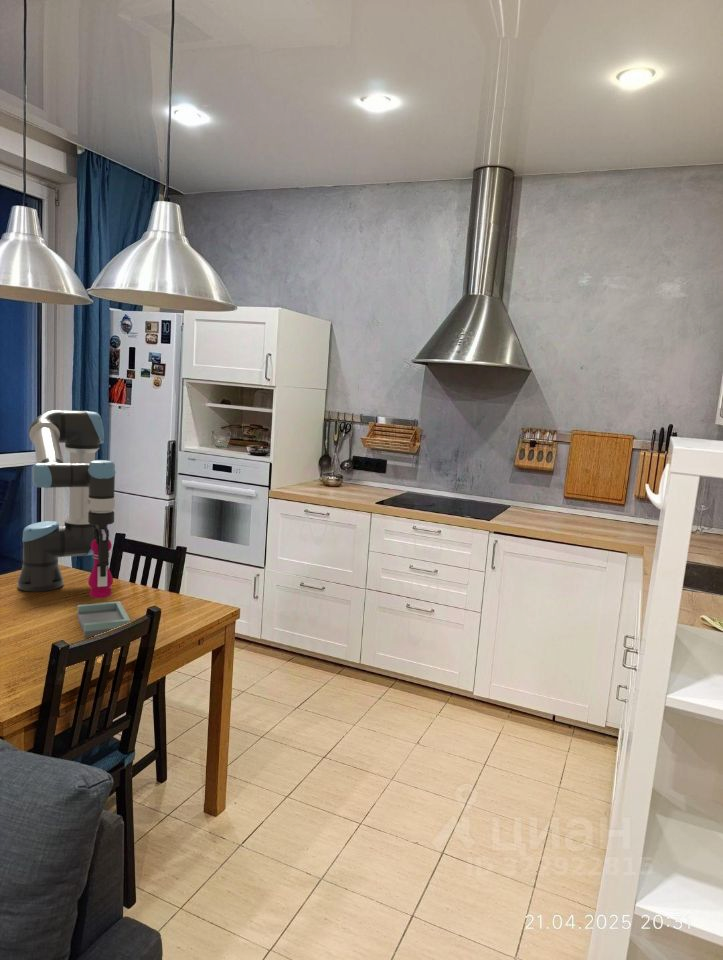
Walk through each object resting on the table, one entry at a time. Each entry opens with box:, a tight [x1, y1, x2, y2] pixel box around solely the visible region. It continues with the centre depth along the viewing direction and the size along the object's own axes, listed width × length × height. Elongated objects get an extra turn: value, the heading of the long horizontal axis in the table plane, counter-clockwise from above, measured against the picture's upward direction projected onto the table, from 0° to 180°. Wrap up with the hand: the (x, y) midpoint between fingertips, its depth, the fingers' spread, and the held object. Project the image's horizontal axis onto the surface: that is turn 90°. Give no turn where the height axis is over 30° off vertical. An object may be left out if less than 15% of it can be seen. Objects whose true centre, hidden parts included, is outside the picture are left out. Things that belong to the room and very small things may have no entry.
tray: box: [77, 600, 131, 639], centre depth 209 cm, size 19×13×4 cm
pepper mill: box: [88, 539, 114, 599], centre depth 206 cm, size 7×7×20 cm
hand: (100, 582), depth 206 cm, fingers closed on pepper mill, 7 cm apart
